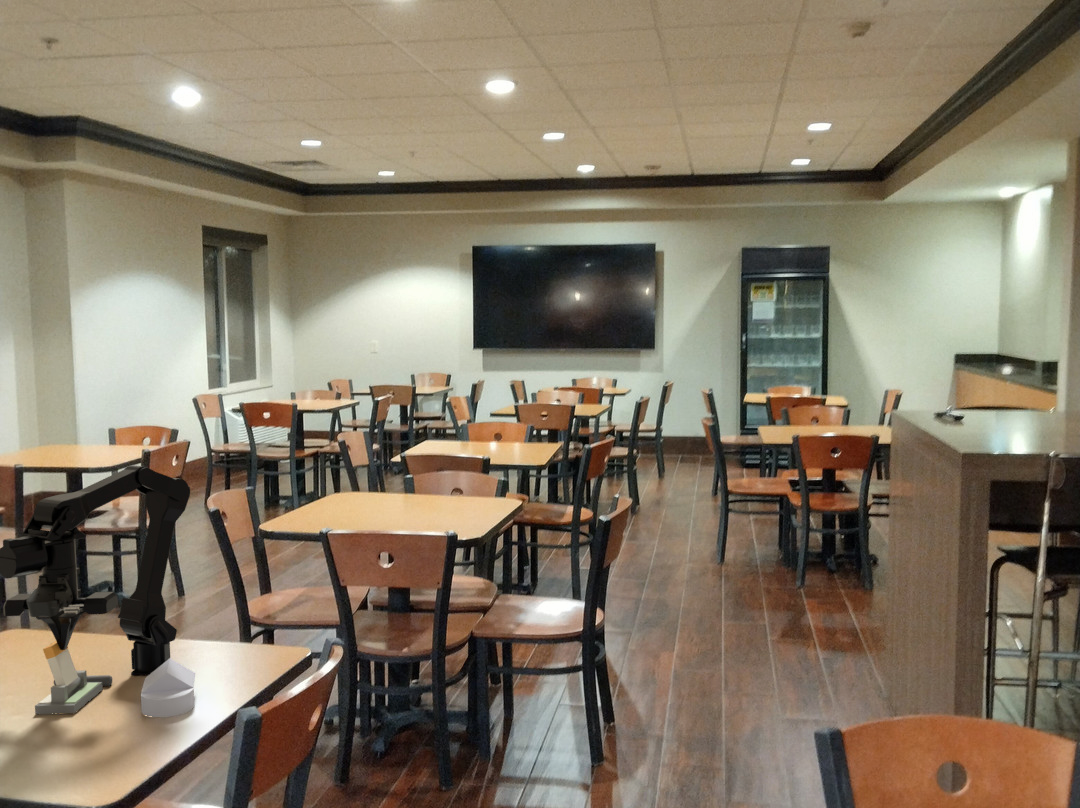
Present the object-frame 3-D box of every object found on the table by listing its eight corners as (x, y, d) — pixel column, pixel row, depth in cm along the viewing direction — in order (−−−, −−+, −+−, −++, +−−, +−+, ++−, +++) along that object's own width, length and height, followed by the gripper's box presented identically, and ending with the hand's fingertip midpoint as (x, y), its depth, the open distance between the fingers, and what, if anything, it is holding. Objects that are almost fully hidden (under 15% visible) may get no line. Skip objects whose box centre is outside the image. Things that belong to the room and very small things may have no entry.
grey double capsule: (115, 681, 197) (115, 672, 197) (108, 687, 193) (108, 678, 193) (60, 681, 196) (59, 673, 196) (52, 688, 193) (51, 678, 193)
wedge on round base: (145, 695, 189) (139, 720, 176) (144, 660, 188) (137, 683, 176) (196, 690, 191) (193, 714, 179) (194, 655, 191) (191, 677, 178)
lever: (82, 684, 188) (65, 637, 188) (69, 694, 183) (51, 646, 182) (72, 687, 188) (55, 640, 188) (59, 698, 183) (41, 649, 182)
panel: (102, 690, 192) (101, 667, 191) (74, 713, 180) (73, 690, 179) (65, 690, 192) (64, 668, 191) (35, 714, 180) (34, 690, 179)
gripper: (-16, 578, 176) (-11, 665, 177) (91, 575, 176) (95, 662, 177) (16, 563, 187) (21, 645, 188) (117, 561, 187) (121, 643, 188)
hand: (63, 649), depth 185 cm, fingers closed
